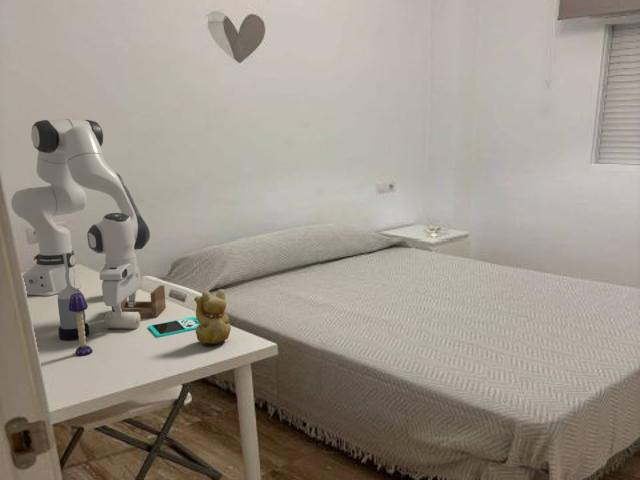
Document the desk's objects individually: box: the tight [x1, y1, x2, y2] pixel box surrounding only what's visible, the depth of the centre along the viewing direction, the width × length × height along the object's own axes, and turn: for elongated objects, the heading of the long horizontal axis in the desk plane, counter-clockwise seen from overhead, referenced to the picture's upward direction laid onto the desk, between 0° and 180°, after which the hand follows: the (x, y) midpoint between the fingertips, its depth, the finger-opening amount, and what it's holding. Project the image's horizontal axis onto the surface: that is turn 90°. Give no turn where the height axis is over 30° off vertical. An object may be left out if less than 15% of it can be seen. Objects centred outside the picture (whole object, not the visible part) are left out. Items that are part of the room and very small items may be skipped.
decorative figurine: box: [194, 288, 232, 348], centre depth 153 cm, size 10×8×15 cm
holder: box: [111, 285, 167, 319], centre depth 180 cm, size 14×9×8 cm, turn 87°
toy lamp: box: [69, 292, 93, 357], centre depth 147 cm, size 5×5×17 cm
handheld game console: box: [148, 316, 200, 338], centre depth 168 cm, size 10×16×1 cm, turn 122°
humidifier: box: [57, 252, 90, 342], centre depth 159 cm, size 8×8×25 cm
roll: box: [104, 311, 141, 330], centre depth 167 cm, size 10×5×5 cm
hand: (125, 311), depth 169 cm, fingers open, 8 cm apart
